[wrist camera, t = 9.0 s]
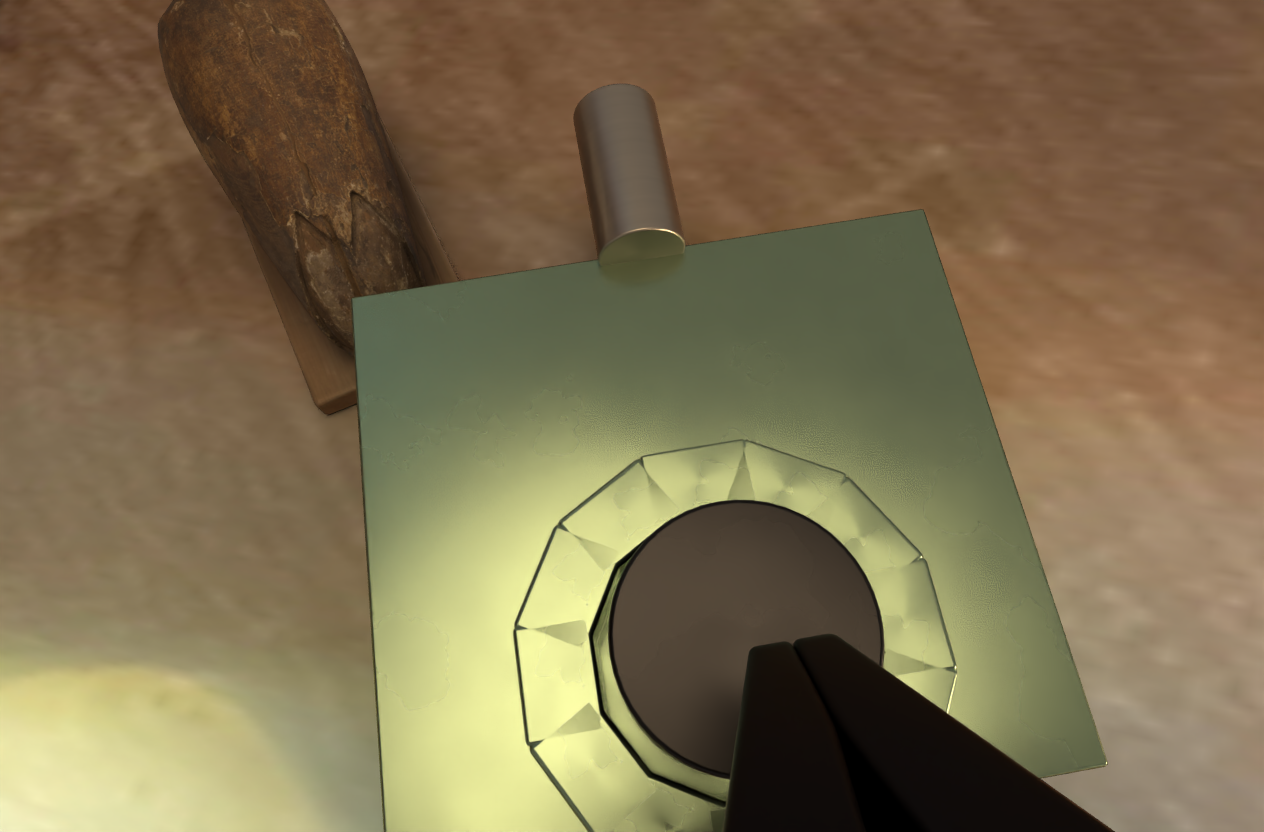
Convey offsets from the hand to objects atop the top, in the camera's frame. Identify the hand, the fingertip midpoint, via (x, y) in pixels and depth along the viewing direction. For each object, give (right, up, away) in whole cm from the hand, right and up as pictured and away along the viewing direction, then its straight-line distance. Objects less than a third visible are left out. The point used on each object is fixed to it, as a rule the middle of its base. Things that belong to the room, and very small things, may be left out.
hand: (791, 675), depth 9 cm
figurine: (-10, +9, +16) cm, 21 cm away
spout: (-2, +7, +11) cm, 13 cm away
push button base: (0, -1, +12) cm, 12 cm away
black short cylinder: (0, -1, +5) cm, 5 cm away
